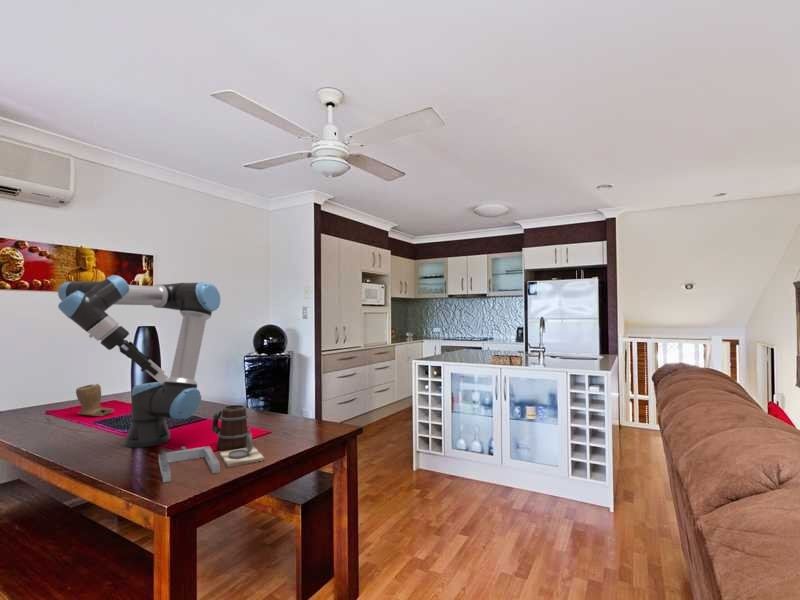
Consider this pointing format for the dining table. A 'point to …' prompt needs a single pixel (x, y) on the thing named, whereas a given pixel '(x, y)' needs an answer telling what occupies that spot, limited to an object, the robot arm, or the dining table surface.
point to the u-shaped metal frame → (186, 455)
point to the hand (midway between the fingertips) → (163, 377)
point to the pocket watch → (243, 452)
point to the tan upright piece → (91, 401)
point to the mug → (231, 427)
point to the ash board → (250, 458)
